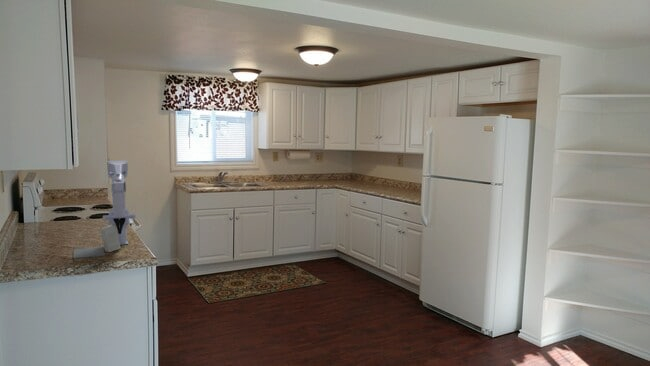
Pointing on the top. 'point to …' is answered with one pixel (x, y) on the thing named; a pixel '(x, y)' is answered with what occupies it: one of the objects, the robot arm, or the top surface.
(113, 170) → the robot arm
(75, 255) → the mat
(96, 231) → the top surface
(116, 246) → the skincare box
